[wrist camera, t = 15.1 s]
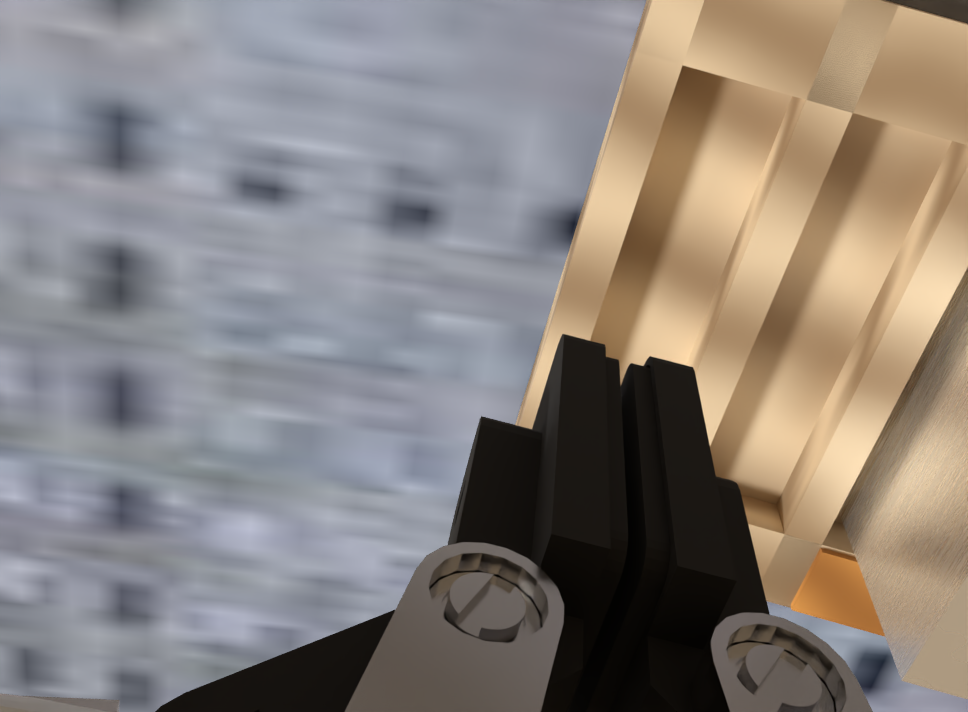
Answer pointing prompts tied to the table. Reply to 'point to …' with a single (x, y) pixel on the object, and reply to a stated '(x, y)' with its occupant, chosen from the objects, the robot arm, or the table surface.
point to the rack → (779, 248)
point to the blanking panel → (921, 513)
